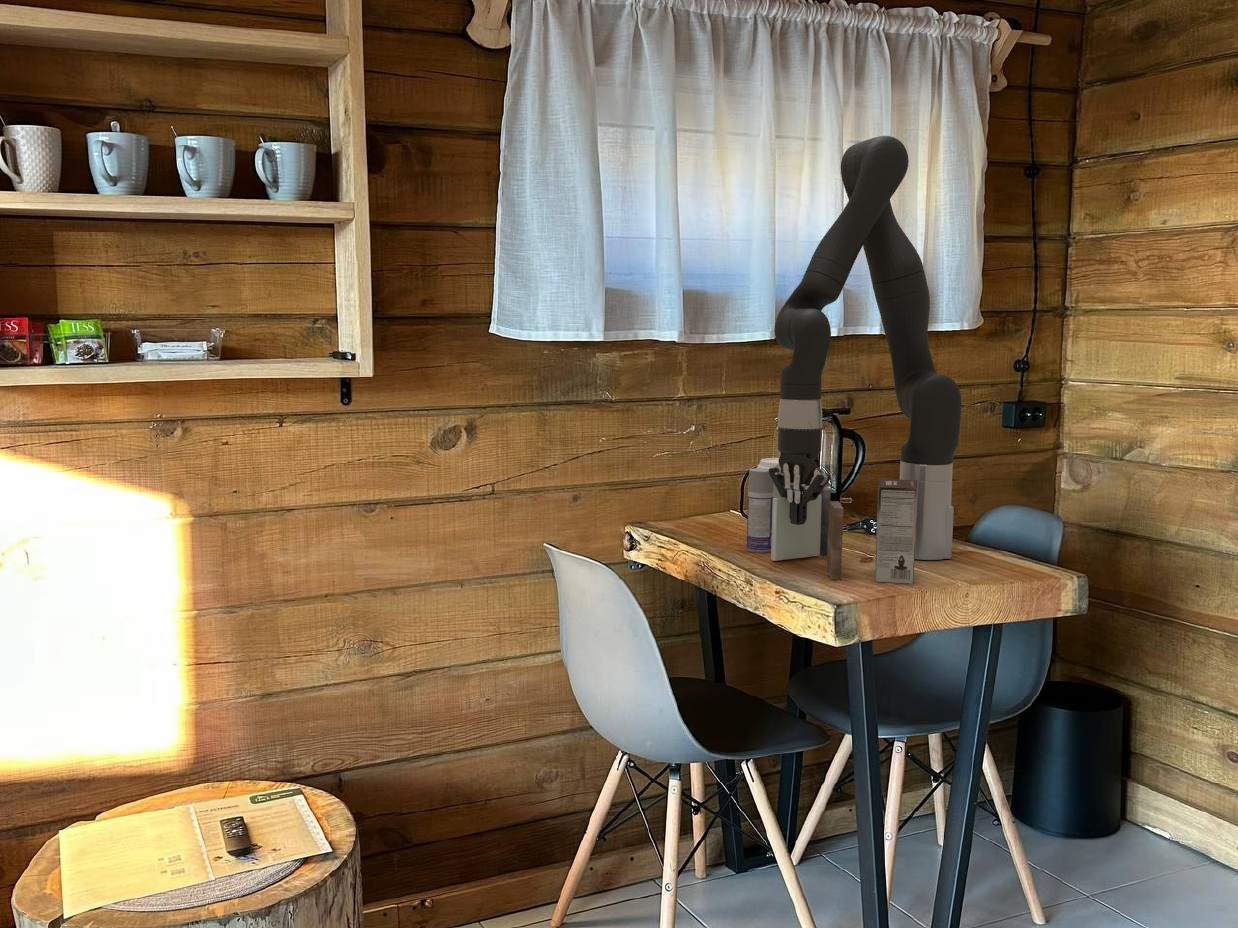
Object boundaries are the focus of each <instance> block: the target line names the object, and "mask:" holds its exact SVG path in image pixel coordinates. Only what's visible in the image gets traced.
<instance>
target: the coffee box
mask: <svg viewBox="0 0 1238 928" xmlns="http://www.w3.org/2000/svg"><path fill="white" fill-rule="evenodd" d="M917 498H918V487H917V481H916V480H900V478H899V479H893V478H879V479H878V487H877V507H876V509H877V510H876V511H877V512H876V531H875V532H876V533H875V534H876V535H875V579H874V580H875V582H876V583H889V584H891V583H894V584H907V583H908V584H911V585H913V584H914V580H915V579H914V578H915V577H914V575H915V560H916V559H915V541H916V522H917Z"/></svg>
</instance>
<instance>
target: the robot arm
mask: <svg viewBox="0 0 1238 928" xmlns="http://www.w3.org/2000/svg"><path fill="white" fill-rule="evenodd" d="M908 168H909V154H908V150H907V148H906V146H905V144H903V142H902V141H901V140H900V139H898V138H896V137H894V136H891V135H880V136H876V137H872V138H869V139H866V140H862V141H859V142H857V143H854V144H853V145H851V146H850V147H847V149H846V150H845V151H844V153H843V155H842V157H841V161H840V175H841V181H842V185H843V188H844V191H845V193H846V196H847V199H848V201H847V203H846V205H845V206H844V208H843V209H842V212H841V213H840V214H839V216H838V217H837V218H836V219H835V221H834V223H833V224H832V225H831V226H830V228H829V229H828V230H827V231H826V233H825V235H823V237H822V239H821V240H820V241H819V243H818V244H817V246H816V248H815V250H814V252H813V254H812V256H811V259H810V261H809V263H808V265H807V268H806V270H805V272H804V274H803V276H802V279H801V281H800V283H799V284H798V285H797V286H796V288H795V289H794V290H793V291H792V293H791V294H790V296H789V297H788V298H787V300H786V301H785V303H784V304H783V306H782V307H781V309H780V310H779V312H778V315H777V317H776V319H775V323H774V331H773V332H774V338H775V339H776V340H775V341H777V343H778V344H779V345H780V346H781V347H783V348H784V349H788V350H793V354H792V356H791V357H792V358H791V362H790V363H789V364H787V365H785V366H784V367H783V368H782V369H781V371H780V372H781V373H780V384H779V385H780V389H779V392H780V393H779V404H778V405H779V406H778V413H777V415H778V417H777V419H778V420H777V451H778V452H779V453H780V455H779V457H778V458H779V460H778V462H779V464H777V465H776V466H775V467H774V468H770V469H769V474H770V476H771V478H772V480H773V482H774V484H775V486H776V488H777V490H778V492H779V494H780V496H781V497H782V498H786V499H788V502H789V503H790V509H789V511H790V512H789V518H790V520H791V524H796V525H802V524H804V523H805V521H806V519H807V503H808V502H809V501H812V500H816V499H817V497H818V496H819V495H820V493H821V492H822V490H823V489H824V487H825V486H827V485H828V483H829V482H830V480H831V474H830V473H824V471H823V470H822V469H821V461H820V459H819V455H820V452H821V451H822V442H823V440H822V438H823V437H822V436H823V408H822V407H823V405H822V375H823V371H824V368H825V365H826V362H827V357H828V353H829V348H830V347H831V346H830V345H831V340H832V330H831V324H830V321H829V319H828V317H827V315H826V314H825V313H824V312H823V309H824V308H825V307H826V306H828V305H831V304H833V303H834V302H836V301H837V300H838V298H839V297H840V295H841V294H842V291H843V289H844V287H845V284H846V282H847V280H848V277H849V276H850V274H851V272H852V269H853V266H854V264H855V262H856V260H857V257H858V256H859V254H860V252H861V250H862V248H863V251H864V255H865V258H866V262H867V265H868V271H869V275H870V276H869V277H870V280H871V285H872V289H873V294H874V298H875V302H876V305H877V309H878V311H879V316H880V319H881V323H882V329H883V331H884V335H885V338H886V339H885V340H886V342H887V346H888V349H889V354H890V360H891V365H892V366H891V367H892V372H893V373H892V374H893V380H894V381H893V382H894V388H895V395H896V402H897V405H898V408H899V409H900V411H901V413H902V414H903V415H904V416H905V417H906V418H908V419H909V420H910V424H909V425H910V427H909V435H908V438H907V441H906V442H905V443H904V444H903V445H901V449H900V463H899V465H900V466H899V480H916V481H917V487H918V498H917V522H916V541H915V560H923V561H925V560H926V561H937V560H945V559H946V560H947V559H952V552H953V551H952V550H953V547H952V546H953V532H954V531H953V529H954V513H955V512H954V511H955V510H954V509H955V508H954V506H953V505H952V491H953V472H954V471H953V468H954V467H953V466H954V455H955V452H956V450H957V448H958V445H959V439H960V432H961V431H960V430H961V429H960V428H961V419H962V418H961V417H962V405H963V404H962V395H961V394H962V393H961V390H960V387H959V386H958V384H957V382H956V381H955V380H954V379H953V378H951V377H949V376H948V375H946V374H942V373H938V372H937V370H936V367H935V365H934V364H935V363H934V361H933V358H932V353H931V350H930V345H929V336H928V335H929V334H928V333H929V322H930V321H929V318H930V313H931V311H930V309H931V296H930V290H929V286H928V282H927V278H926V277H927V276H926V273H925V269H924V264H923V262H922V259H921V257H920V255H919V253H918V251H917V249H916V248H915V246H914V245H913V243H912V241H911V240H910V239H909V237H908V236H907V234H906V233H905V232H904V230H903V229H902V227H901V226H900V224H899V223H898V221H897V218H896V215H895V214H894V213H895V212H894V210H893V206H892V202H891V199H892V197H893V196H894V194H895V192H896V191H897V189H898V188H899V187H900V185H901V184H902V182H903V180H904V179H905V176H906V174H907V172H908ZM792 483H794V484H792ZM783 486H784V487H783ZM784 488H785V489H784ZM794 490H795V492H794Z"/></svg>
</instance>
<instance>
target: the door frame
mask: <svg viewBox="0 0 1238 928" xmlns="http://www.w3.org/2000/svg"><path fill="white" fill-rule="evenodd" d="M831 493H832V492H831V489H830V487H829V486H828V485H826V486H825V487H824V489H823V490H822V492H821V493H820V495H822V501H821V530H820V555H819V556H821V557H826V572H827V574H828V576H829V578H830V580H838V581H839V580H842V558H843V556H842V555H843V531H844V507H843V506H842V504H841V503H840V502H839V501H837V500H836V501H835V500H834V501H833V500H831V495H832V494H831Z"/></svg>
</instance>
